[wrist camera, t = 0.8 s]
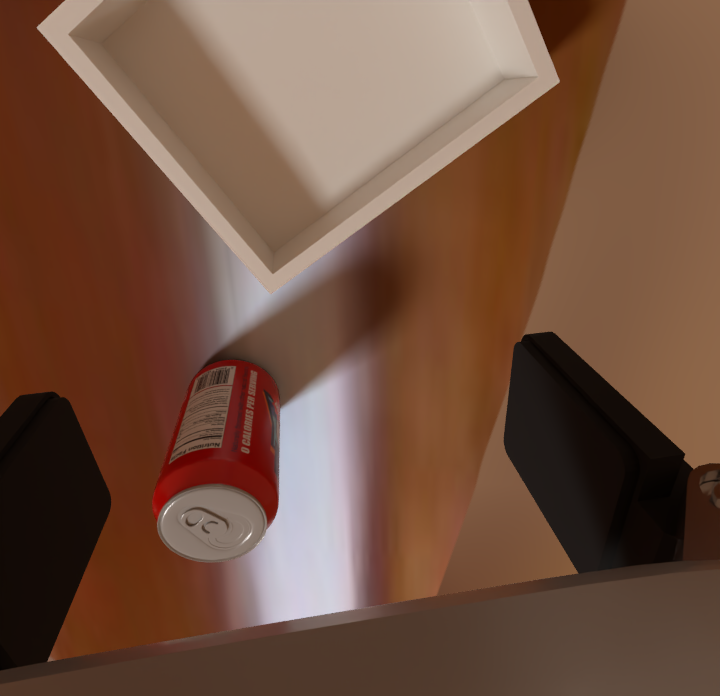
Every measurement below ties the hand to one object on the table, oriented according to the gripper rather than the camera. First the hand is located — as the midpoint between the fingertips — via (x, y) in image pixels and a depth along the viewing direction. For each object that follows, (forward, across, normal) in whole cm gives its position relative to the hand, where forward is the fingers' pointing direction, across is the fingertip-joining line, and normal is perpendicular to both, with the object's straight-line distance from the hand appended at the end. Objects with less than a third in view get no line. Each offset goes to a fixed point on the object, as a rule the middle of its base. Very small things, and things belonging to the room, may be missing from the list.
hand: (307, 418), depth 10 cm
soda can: (+28, +7, +17) cm, 34 cm away
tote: (+28, -2, -8) cm, 29 cm away
